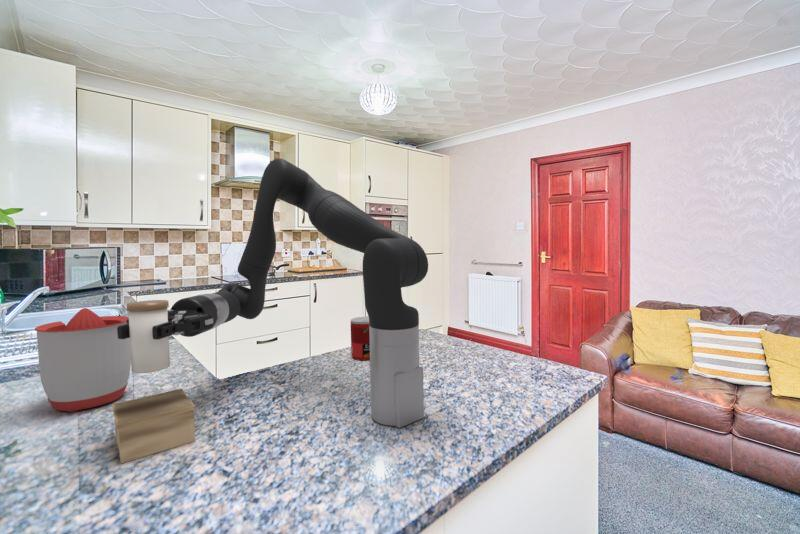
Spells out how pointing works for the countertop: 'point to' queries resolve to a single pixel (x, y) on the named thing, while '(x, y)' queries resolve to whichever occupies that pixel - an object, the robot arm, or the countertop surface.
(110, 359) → the citrus juicer
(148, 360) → the cream jar
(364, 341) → the canned food
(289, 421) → the countertop surface
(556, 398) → the countertop surface
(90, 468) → the countertop surface
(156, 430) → the oak box
